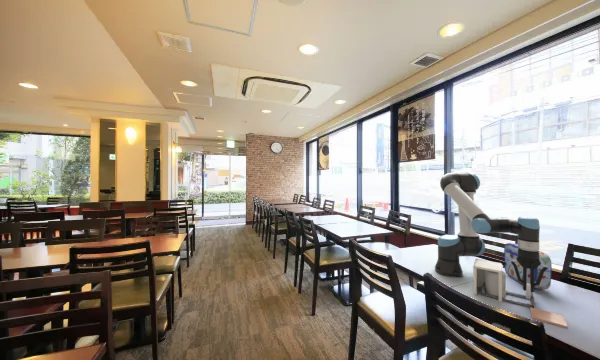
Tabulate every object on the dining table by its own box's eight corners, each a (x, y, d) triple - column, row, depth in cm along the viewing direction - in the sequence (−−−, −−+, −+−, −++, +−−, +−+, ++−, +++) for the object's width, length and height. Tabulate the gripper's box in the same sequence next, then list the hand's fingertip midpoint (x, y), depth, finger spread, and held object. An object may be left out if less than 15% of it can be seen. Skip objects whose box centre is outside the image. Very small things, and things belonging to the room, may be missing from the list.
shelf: (473, 294, 122) (473, 265, 122) (475, 284, 133) (475, 258, 133) (501, 301, 114) (501, 271, 114) (501, 291, 125) (501, 263, 125)
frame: (482, 295, 121) (482, 287, 121) (483, 287, 129) (483, 280, 129) (534, 308, 108) (534, 299, 108) (532, 299, 116) (532, 290, 116)
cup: (507, 300, 116) (507, 276, 116) (486, 295, 120) (486, 272, 120) (504, 293, 123) (503, 270, 123) (484, 289, 127) (484, 267, 127)
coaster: (532, 318, 100) (532, 316, 100) (530, 308, 108) (530, 307, 108) (567, 328, 94) (567, 326, 94) (562, 317, 101) (562, 315, 101)
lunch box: (499, 272, 151) (499, 238, 151) (517, 273, 149) (517, 238, 149) (532, 292, 124) (531, 250, 124) (555, 293, 122) (555, 251, 122)
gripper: (510, 248, 115) (510, 296, 115) (548, 253, 106) (548, 305, 106) (510, 245, 120) (510, 290, 120) (546, 250, 112) (546, 299, 112)
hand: (528, 297), depth 113 cm, fingers closed
